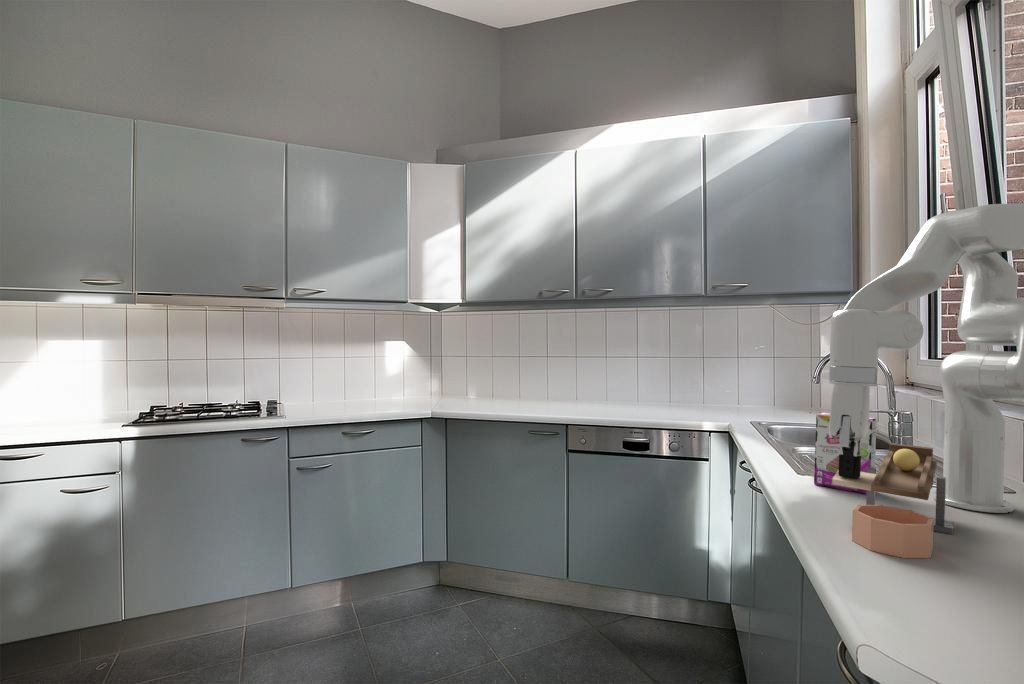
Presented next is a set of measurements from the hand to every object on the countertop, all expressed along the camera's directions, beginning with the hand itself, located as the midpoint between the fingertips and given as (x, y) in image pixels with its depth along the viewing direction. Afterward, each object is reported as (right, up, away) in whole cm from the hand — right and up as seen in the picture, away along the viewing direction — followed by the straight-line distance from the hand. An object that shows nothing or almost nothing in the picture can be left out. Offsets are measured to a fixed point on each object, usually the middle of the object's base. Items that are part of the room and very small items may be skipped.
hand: (849, 476), depth 100 cm
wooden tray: (+8, -4, +3) cm, 10 cm away
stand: (+10, -8, 0) cm, 13 cm away
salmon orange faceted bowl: (-1, -8, -12) cm, 15 cm away
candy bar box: (+13, -9, +23) cm, 28 cm away
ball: (+11, +3, +1) cm, 12 cm away
